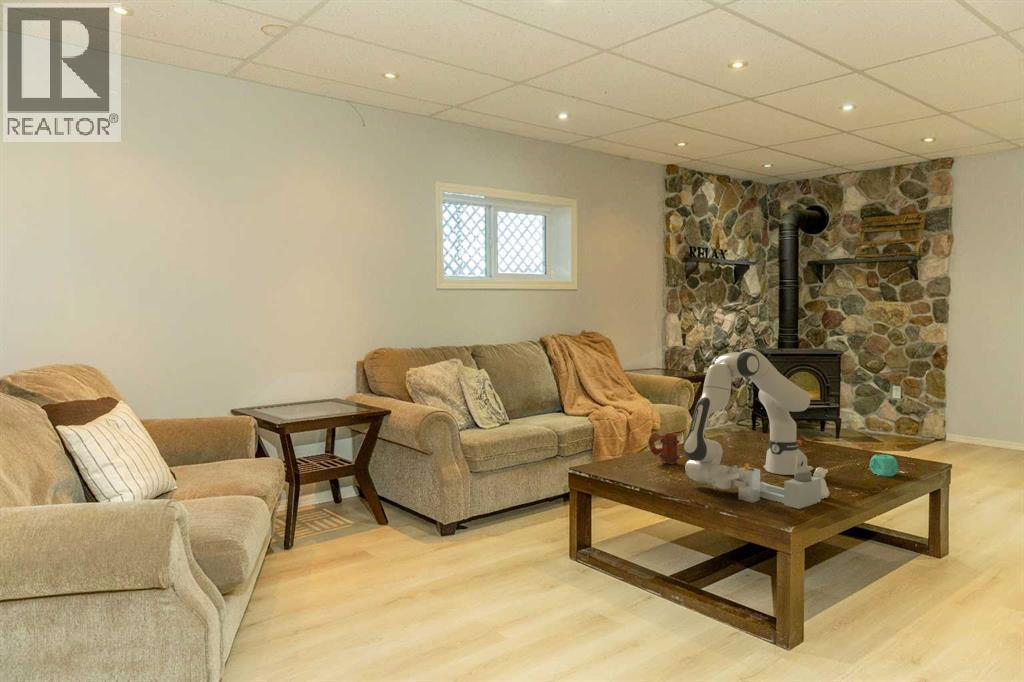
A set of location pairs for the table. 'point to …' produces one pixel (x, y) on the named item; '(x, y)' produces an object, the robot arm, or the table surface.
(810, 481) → the bracket
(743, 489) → the block
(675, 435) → the mug
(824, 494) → the white creature statuette
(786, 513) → the table surface
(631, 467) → the table surface
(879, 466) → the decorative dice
